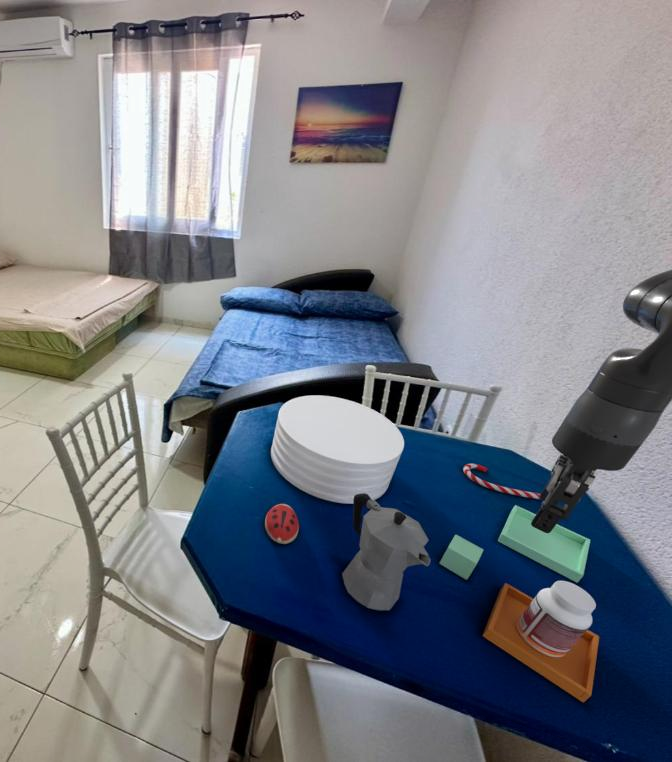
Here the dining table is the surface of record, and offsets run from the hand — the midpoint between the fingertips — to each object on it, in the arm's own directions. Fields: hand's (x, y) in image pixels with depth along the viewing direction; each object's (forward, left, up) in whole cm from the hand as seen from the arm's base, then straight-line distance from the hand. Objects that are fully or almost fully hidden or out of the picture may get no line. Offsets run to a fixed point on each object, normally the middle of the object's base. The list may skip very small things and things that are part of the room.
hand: (543, 514), depth 62 cm
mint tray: (-4, -22, -20) cm, 30 cm away
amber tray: (-7, +3, -20) cm, 22 cm away
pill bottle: (-7, +3, -20) cm, 21 cm away
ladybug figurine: (+33, +15, -21) cm, 41 cm away
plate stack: (+37, -12, -21) cm, 44 cm away
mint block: (+6, -3, -20) cm, 21 cm away
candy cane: (+6, -37, -21) cm, 43 cm away
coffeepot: (+16, +14, -21) cm, 29 cm away
